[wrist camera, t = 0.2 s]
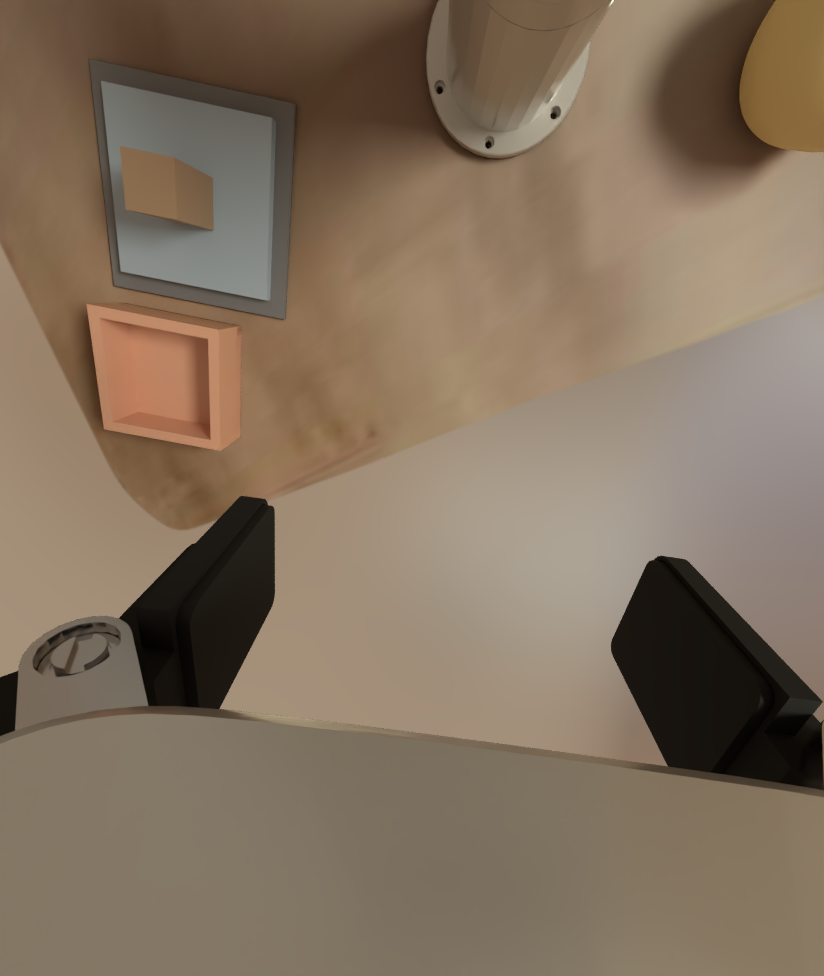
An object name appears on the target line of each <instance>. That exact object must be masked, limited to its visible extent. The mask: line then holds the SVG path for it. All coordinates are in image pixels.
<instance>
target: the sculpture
mask: <svg viewBox="0 0 824 976" xmlns="http://www.w3.org/2000/svg"><path fill="white" fill-rule="evenodd" d="M739 99H740V107H741V111H742V115H743V117H744V120H745V122H746V124H747V125H748V127H749V128H750V130H751V131H752V132H753V133H754V134H755V135H756V136H757V137H758V138H759V139H761V140H762V141H764V142H765V143H767V144H769V145H772V146H774V147H778V148H781V149H787V150H795V151H804V152H824V0H776V1H775V2H774V4H773V5H772V7H771V8H770V10H769V11H768V13H767V15H766V16H765V18H764V20H763V21H762V23H761V25H760V27H759V29H758V31H757V33H756V35H755V37H754V39H753V41H752V43H751V46H750V48H749V51H748V54H747V56H746V60H745V63H744V66H743V70H742V75H741V81H740V91H739Z"/></svg>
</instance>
